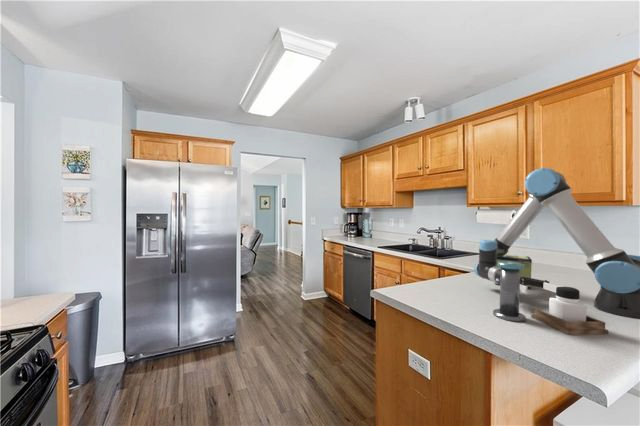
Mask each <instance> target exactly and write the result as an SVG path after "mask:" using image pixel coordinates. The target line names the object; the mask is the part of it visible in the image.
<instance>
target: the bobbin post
mask: <svg viewBox="0 0 640 426" xmlns="http://www.w3.org/2000/svg"><path fill="white" fill-rule="evenodd" d="M498 267H501V274H500V285H499V308H496V309H493V311H492V314H493V316H494V317H496V318H497V319H501V320H504V321H508V322H515V323H523V322H526V315H525V314H524V313H520V294H521V292H520V270H522V269H524V264H521V263H516V262H508V261H499V262H498Z"/></svg>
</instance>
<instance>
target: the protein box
mask: <svg viewBox="0 0 640 426" xmlns="http://www.w3.org/2000/svg"><path fill="white" fill-rule="evenodd" d="M499 261H508V262H516V263H521V264H524V269H522V270H520V277H524V276H525V277H528V278H532V264H533V259H532V258H531V257H530V256H525V255H516V254H515V255H513V254H506V255H504V256H502V257H497V265H496V266H497V267H498V262H499ZM500 268H501V267H500ZM494 284H495V285H496V286H500V284H496V283H495V282H494ZM522 284H524V283H523V282H522ZM526 286H527V290H531V289H532V288H531V287H532V286H529V285H526Z"/></svg>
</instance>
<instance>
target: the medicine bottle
mask: <svg viewBox="0 0 640 426" xmlns="http://www.w3.org/2000/svg"><path fill="white" fill-rule="evenodd" d="M557 286H558V287H556V293H555V297H549V300H548V301H549V303H548V314H551V315H553V316H556V317H558V318H560V319H563V320H565V321H567V322H586V316H587V308H588V307H587V305H586V304H583V303H581V302H580V295H581V294H580V292H581V291H580V290H579V289H578V288H575V287H572V286H566V285H560V286H559V285H557Z"/></svg>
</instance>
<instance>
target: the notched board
mask: <svg viewBox="0 0 640 426" xmlns="http://www.w3.org/2000/svg"><path fill="white" fill-rule="evenodd" d="M530 317H531V318H532V319H534V320H536V321H538V322H541V323H542V324H545V325H547V326H549V327H552V328H554V329H555V330H557V331H559V332H561V333H564V334H566V335H569V336H570V335H571V336H572V335H576V336H578V335H608V334H609V330H608V329H606V322H605V321H602V320H599V319H597V318H594V317H591V316H588V315H586V322H567V321H565V320H563V319H560V318H558V317H556V316H553V315H551V314H549V312H546V311H543V310H541V309H539V308H535V309H534V314H533V313H531V314H530Z"/></svg>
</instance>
